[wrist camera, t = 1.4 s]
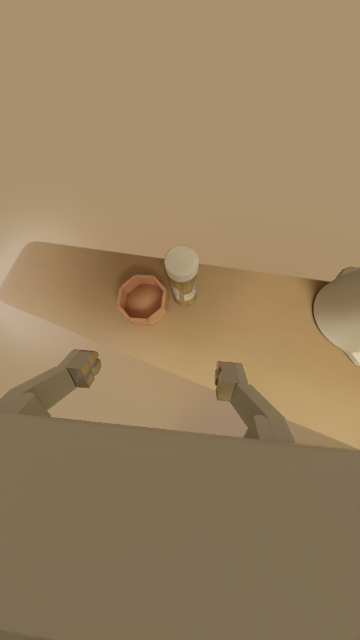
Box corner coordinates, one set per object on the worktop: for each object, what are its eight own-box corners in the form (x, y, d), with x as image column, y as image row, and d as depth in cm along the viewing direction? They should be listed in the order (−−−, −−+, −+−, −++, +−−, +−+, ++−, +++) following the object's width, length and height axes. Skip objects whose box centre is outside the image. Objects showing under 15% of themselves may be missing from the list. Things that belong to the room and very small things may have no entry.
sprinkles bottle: (196, 306, 34) (199, 275, 21) (173, 306, 34) (163, 276, 21) (195, 285, 35) (198, 243, 22) (174, 286, 35) (164, 244, 22)
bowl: (169, 283, 35) (167, 276, 32) (165, 326, 33) (162, 323, 30) (127, 281, 36) (121, 274, 32) (121, 323, 34) (113, 319, 31)
